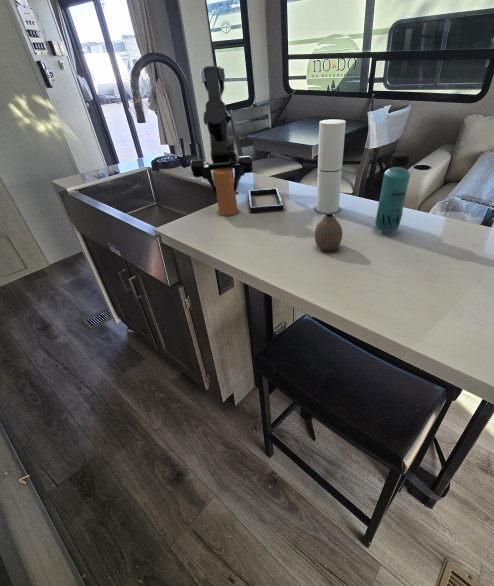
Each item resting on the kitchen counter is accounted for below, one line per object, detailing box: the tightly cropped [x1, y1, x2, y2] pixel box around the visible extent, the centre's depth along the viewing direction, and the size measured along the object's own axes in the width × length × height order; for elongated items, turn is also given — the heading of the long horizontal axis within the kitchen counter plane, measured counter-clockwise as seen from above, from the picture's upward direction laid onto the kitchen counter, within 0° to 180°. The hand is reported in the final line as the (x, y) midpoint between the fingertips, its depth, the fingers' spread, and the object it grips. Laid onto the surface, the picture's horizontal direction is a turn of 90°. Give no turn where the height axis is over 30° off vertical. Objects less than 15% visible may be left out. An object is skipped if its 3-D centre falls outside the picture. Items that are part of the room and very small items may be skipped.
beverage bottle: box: [374, 153, 411, 232], centre depth 80 cm, size 6×7×20 cm
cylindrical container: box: [315, 118, 346, 214], centre depth 93 cm, size 7×7×25 cm
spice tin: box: [212, 168, 239, 217], centre depth 97 cm, size 6×6×13 cm
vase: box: [314, 213, 343, 252], centre depth 77 cm, size 7×7×9 cm
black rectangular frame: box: [247, 187, 284, 214], centre depth 106 cm, size 17×11×2 cm, turn 6°
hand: (225, 191), depth 96 cm, fingers closed on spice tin, 6 cm apart
